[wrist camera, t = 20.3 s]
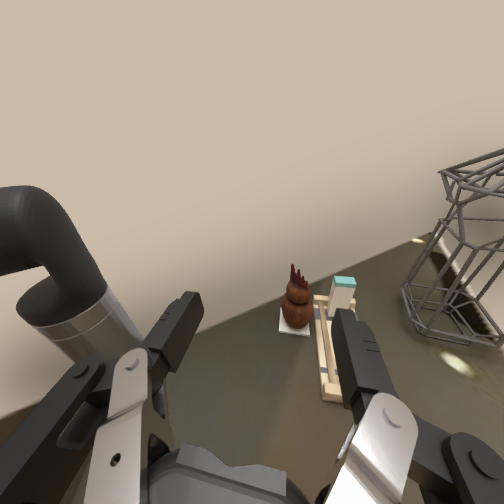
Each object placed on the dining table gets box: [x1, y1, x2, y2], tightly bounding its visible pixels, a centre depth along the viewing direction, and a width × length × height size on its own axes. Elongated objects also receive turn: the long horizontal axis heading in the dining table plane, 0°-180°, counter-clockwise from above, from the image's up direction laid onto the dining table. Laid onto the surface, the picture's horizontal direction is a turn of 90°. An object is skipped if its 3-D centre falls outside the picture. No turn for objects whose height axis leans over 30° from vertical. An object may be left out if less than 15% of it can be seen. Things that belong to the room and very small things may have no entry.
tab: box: [326, 276, 357, 317], centre depth 38 cm, size 4×2×10 cm, turn 79°
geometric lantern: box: [400, 148, 504, 348], centre depth 30 cm, size 16×16×35 cm
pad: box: [279, 309, 310, 336], centre depth 41 cm, size 6×6×1 cm
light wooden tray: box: [312, 295, 359, 404], centre depth 35 cm, size 9×20×3 cm, turn 169°
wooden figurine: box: [281, 264, 313, 329], centre depth 37 cm, size 7×6×15 cm
